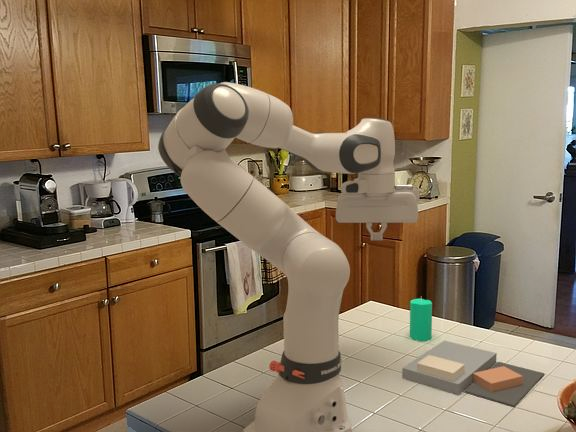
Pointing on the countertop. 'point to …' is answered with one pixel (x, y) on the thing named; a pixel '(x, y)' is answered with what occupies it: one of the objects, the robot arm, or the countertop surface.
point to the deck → (457, 353)
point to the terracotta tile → (497, 378)
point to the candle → (421, 319)
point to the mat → (509, 394)
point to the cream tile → (441, 368)
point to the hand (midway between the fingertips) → (376, 240)
